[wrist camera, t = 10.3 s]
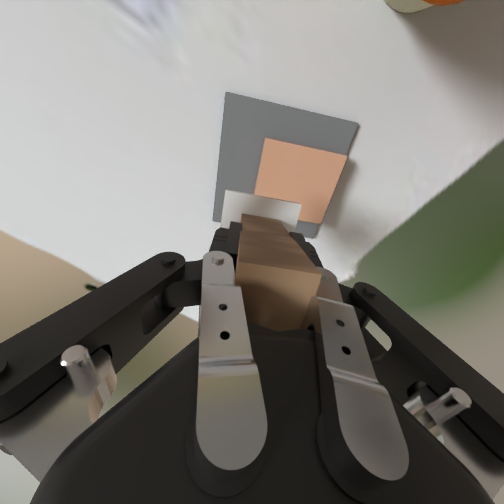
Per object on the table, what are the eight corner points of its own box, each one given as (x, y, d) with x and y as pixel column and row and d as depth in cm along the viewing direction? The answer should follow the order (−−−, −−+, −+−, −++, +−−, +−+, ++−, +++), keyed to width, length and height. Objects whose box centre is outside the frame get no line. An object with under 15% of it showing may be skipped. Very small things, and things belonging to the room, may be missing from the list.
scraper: (298, 202, 18) (377, 241, 7) (282, 268, 19) (325, 373, 9) (226, 189, 17) (198, 209, 7) (216, 258, 19) (183, 357, 9)
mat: (356, 122, 26) (358, 123, 25) (312, 236, 34) (313, 238, 34) (226, 92, 24) (225, 91, 24) (213, 219, 33) (212, 221, 32)
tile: (264, 136, 26) (340, 153, 27) (251, 205, 31) (316, 217, 32) (265, 138, 24) (347, 155, 25) (251, 211, 29) (320, 224, 30)
